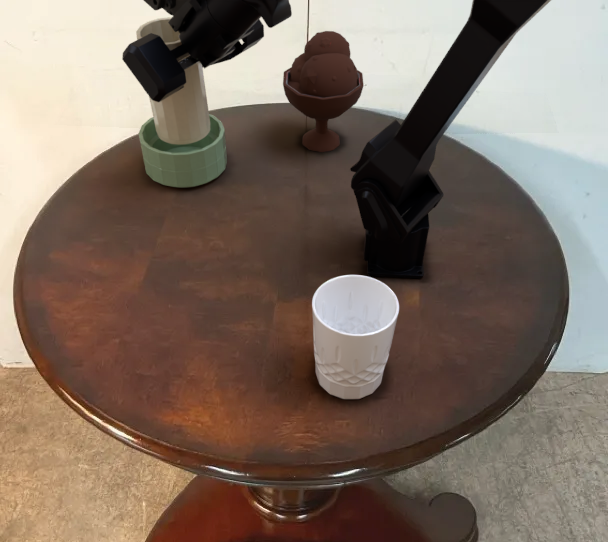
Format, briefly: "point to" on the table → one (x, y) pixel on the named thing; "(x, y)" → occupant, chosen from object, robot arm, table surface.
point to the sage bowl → (184, 156)
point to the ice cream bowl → (323, 86)
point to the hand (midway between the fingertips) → (167, 78)
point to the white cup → (352, 334)
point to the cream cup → (179, 95)
